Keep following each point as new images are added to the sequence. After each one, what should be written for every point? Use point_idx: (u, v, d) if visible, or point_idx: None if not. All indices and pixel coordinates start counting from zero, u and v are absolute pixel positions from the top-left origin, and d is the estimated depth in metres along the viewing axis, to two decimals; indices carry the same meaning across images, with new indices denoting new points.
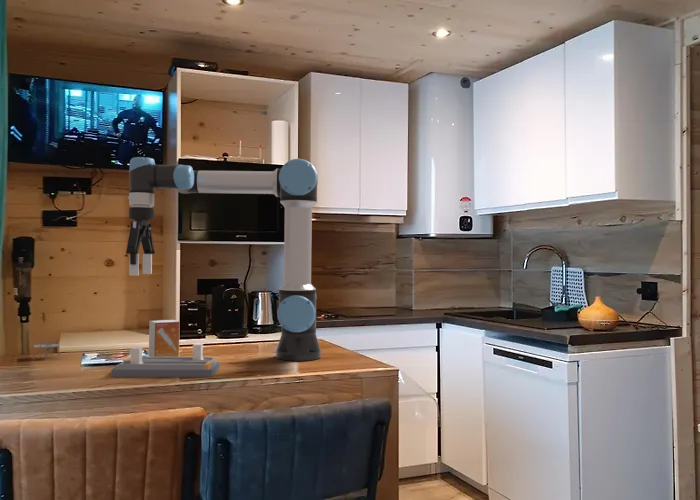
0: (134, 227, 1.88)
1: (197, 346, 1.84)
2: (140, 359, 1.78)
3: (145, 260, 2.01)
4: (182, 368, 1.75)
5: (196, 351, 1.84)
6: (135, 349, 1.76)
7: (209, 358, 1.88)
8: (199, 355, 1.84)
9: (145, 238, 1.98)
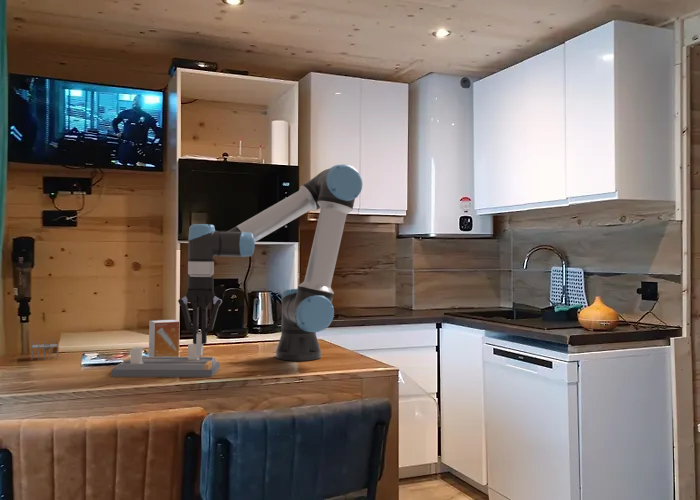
0: None
1: (192, 346, 1.84)
2: (140, 359, 1.78)
3: None
4: (182, 368, 1.75)
5: (191, 351, 1.84)
6: (135, 349, 1.76)
7: (209, 358, 1.88)
8: (194, 355, 1.84)
9: None
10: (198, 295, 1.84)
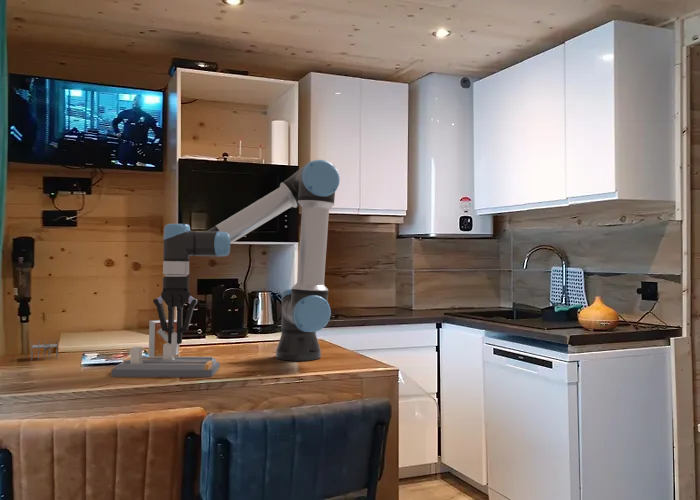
0: None
1: (167, 346, 1.84)
2: (140, 359, 1.78)
3: None
4: (182, 368, 1.75)
5: (166, 351, 1.84)
6: (135, 349, 1.76)
7: (209, 358, 1.88)
8: (169, 355, 1.84)
9: None
10: (173, 295, 1.84)
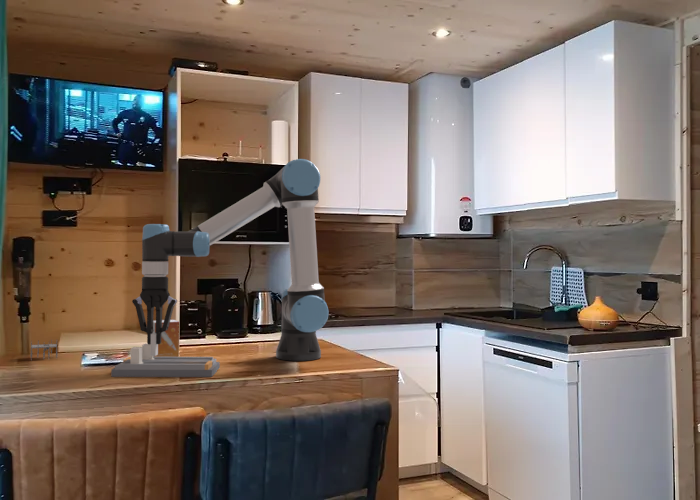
0: None
1: (146, 346, 1.83)
2: (140, 359, 1.78)
3: None
4: (182, 368, 1.75)
5: (145, 351, 1.83)
6: (135, 349, 1.76)
7: (209, 358, 1.88)
8: (148, 355, 1.83)
9: None
10: (152, 295, 1.84)
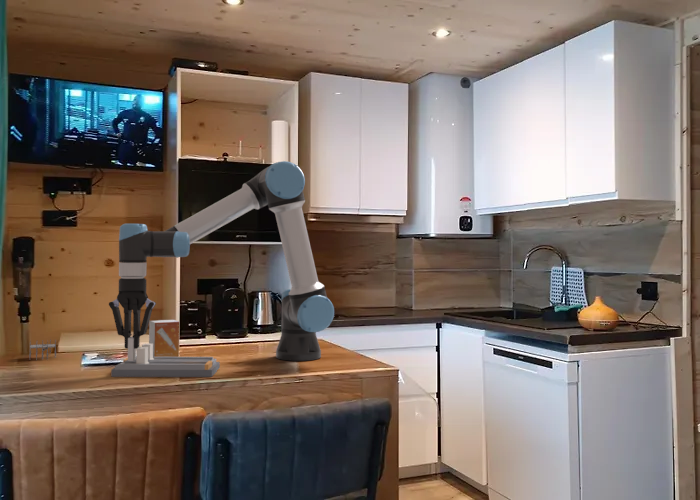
0: None
1: (146, 346, 1.83)
2: (146, 359, 1.78)
3: None
4: (182, 368, 1.75)
5: None
6: (141, 349, 1.76)
7: (209, 358, 1.88)
8: (148, 355, 1.83)
9: None
10: (129, 298, 1.77)
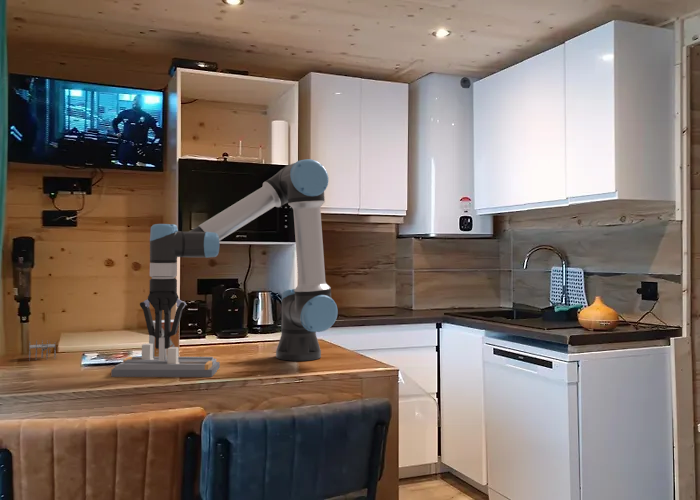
0: None
1: (146, 346, 1.83)
2: (177, 359, 1.78)
3: None
4: (182, 368, 1.75)
5: (145, 351, 1.83)
6: (172, 349, 1.77)
7: (209, 358, 1.88)
8: (148, 355, 1.83)
9: None
10: (160, 298, 1.77)
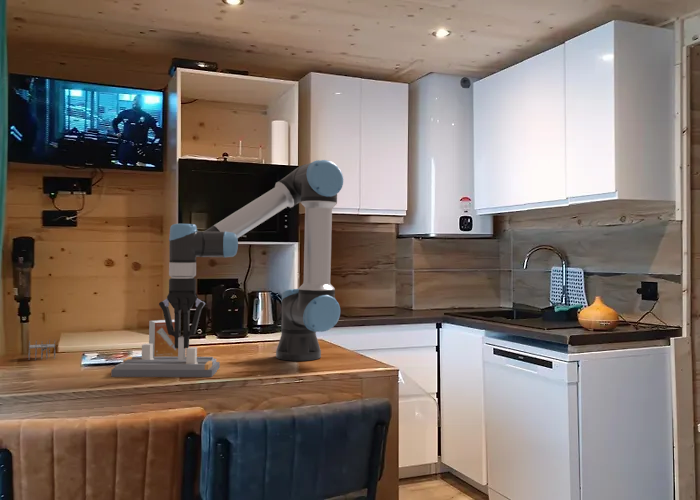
0: None
1: (146, 346, 1.83)
2: (195, 359, 1.78)
3: None
4: (182, 368, 1.75)
5: (145, 351, 1.83)
6: (191, 349, 1.77)
7: (209, 358, 1.88)
8: (148, 355, 1.83)
9: None
10: (180, 297, 1.77)
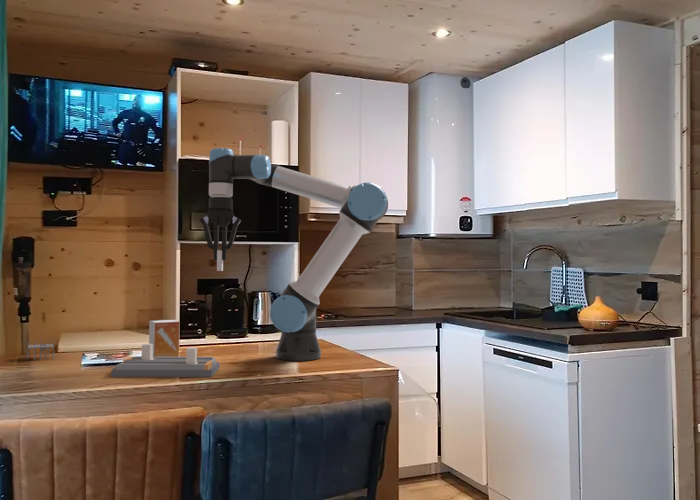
0: None
1: (146, 346, 1.83)
2: (195, 359, 1.78)
3: None
4: (182, 368, 1.75)
5: (145, 351, 1.83)
6: (191, 349, 1.77)
7: (209, 358, 1.88)
8: (148, 355, 1.83)
9: None
10: (218, 215, 1.98)
